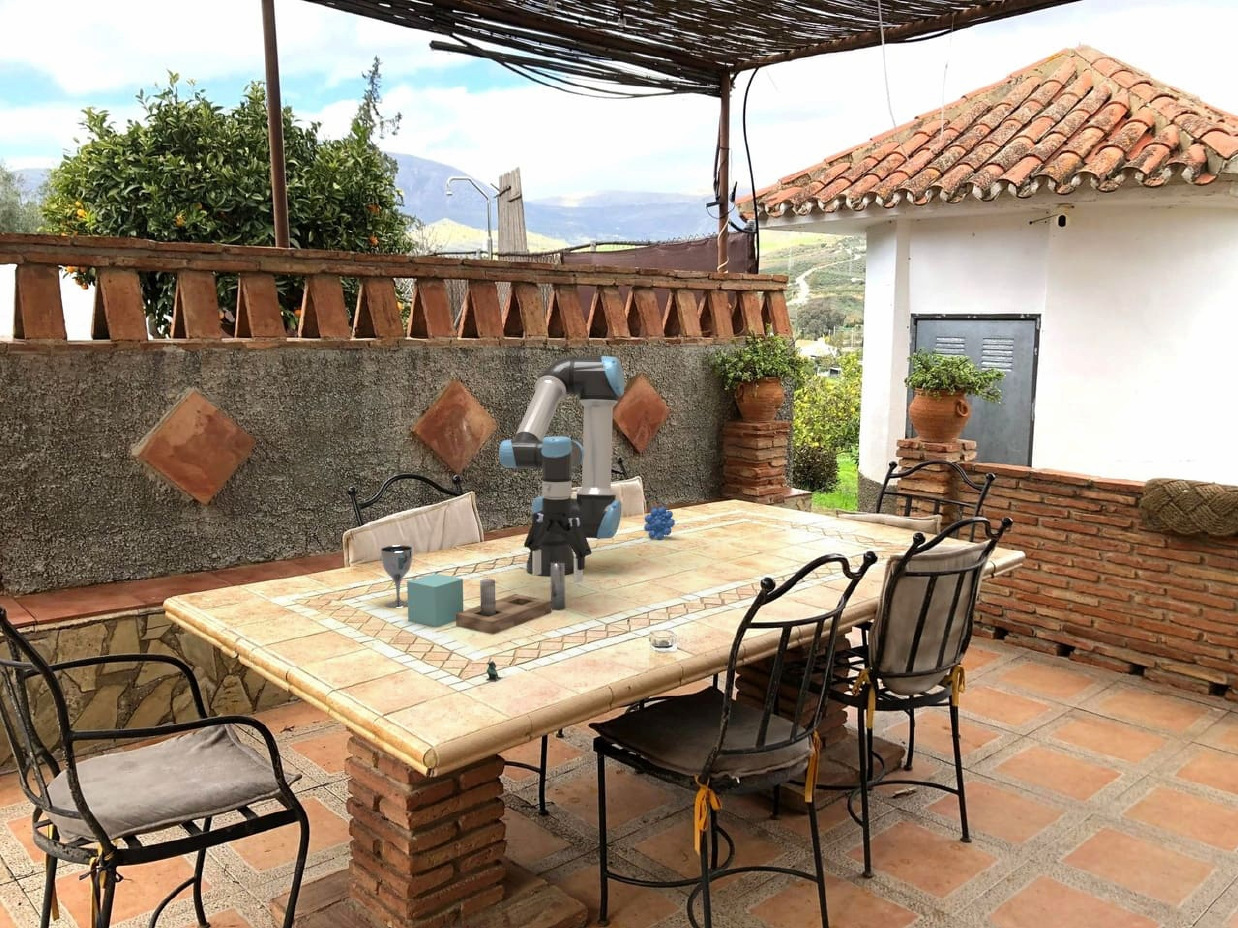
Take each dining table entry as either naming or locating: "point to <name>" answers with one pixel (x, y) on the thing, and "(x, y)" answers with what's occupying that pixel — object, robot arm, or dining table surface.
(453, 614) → the teal cube block
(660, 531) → the grapes
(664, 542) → the dining table surface
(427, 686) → the dining table surface
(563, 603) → the pin
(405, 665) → the dining table surface
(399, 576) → the wine glass
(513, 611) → the board
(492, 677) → the sculpture
